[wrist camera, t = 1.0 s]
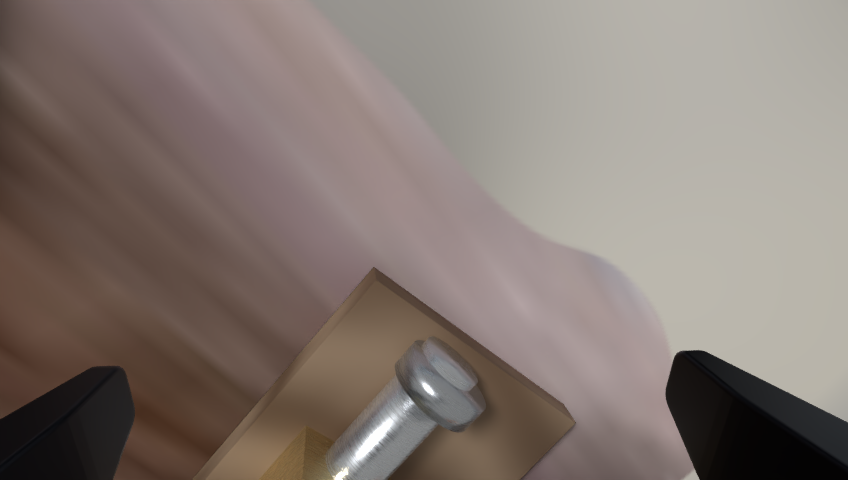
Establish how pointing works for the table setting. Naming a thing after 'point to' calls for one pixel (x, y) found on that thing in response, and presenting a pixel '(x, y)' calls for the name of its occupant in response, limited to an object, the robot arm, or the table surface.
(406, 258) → the table surface
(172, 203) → the table surface
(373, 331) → the valve board
